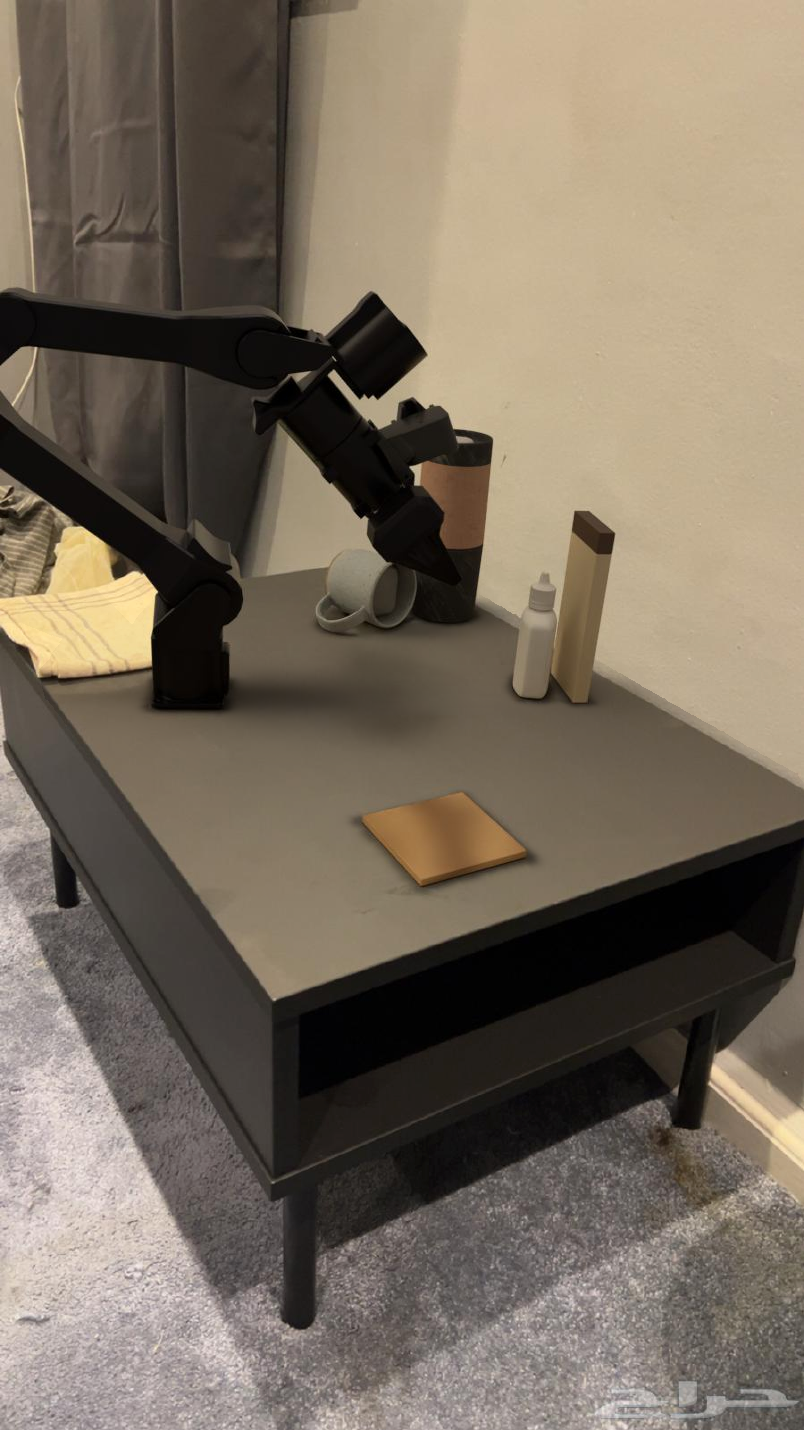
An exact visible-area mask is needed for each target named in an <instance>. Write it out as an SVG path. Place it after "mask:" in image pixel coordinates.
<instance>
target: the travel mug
mask: <svg viewBox="0 0 804 1430" xmlns="http://www.w3.org/2000/svg"><path fill="white" fill-rule="evenodd" d="M453 429H454V432H455V436H456V439H457V442H458V445H459V449H458V450H457V451H456V452H454V453H452V454H449V455H441V456H438V457H436V458H433V459H431V460H428V461H426V462H423V463H421V464H420V465H421V466H420V479H419V486H423V487H424V488H425V489H426V490H427V491H428V492H429V494H430V495H431V496H432V497H433V499H434V500H435V501H436V502H437V503H438V505H439V506H440V507H441V509H442V510H443V511H444V513H445V514H444V522H443V524H442V525H441V530H440V537H441V539H442V541H443V543H444V545H445V547H446V549H447V550H448V552H449V554H450V556H451V558H452V560H453V561H454V563H455V565H456V567H457V569H458V571H459V572H460V574H461V576H462V578H463V579H462V581H461V582H460V583H459V584H458V585H456V586H455V587H452V586H450V585H448V584H445V583H443V582H441V581H438V580H436V579H434V578H431V577H429V576H427V575H424V574H422V573H419V572H417V571H415V570H414V571H415V574H416V580H417V589H416V595H415V600H414V603H413V605H412V611H413V614H415V615H416V616H418V617H419V618H422V619H424V620H427V621H430V622H431V621H432V622H437V623H449V624H451V623H461V622H466V621H468V620H470V619H472V617H474V614H475V608H476V602H477V594H478V585H479V580H480V573H481V572H480V571H481V565H482V558H483V552H484V551H483V550H484V543H485V532H486V523H487V513H488V512H487V511H488V500H489V492H490V491H489V490H490V480H491V479H490V478H491V469H492V461H493V460H492V459H493V450H494V449H493V448H494V438H493V436H491V435H489V434H487V433H484V432H480V431H476V430H471V429H470V430H469V429H461V428H460V429H459V428H453Z"/></svg>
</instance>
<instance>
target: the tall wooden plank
mask: <svg viewBox="0 0 804 1430" xmlns="http://www.w3.org/2000/svg"><path fill="white" fill-rule="evenodd" d="M572 518H573V519H572V524H571V525H572V526H571V531H570V532H571V533H570V538H569V546H568V552H567V559H566V565H565V572H564V580H563V587H562V593H561V600H560V606H559V615H558V619H557V627H556V634H555V641H554V648H553V655H552V661H551V668H550V674H551V675H552V676H553V678H554V679H555V680H556V682H557V683H558V684H559V686H560V688H562V690H563V691H564V692H565V694H566V695H567V698H568V699H570V701H571V703H573V704H575V703H578V704H579V703H580V704H581V703H588V699H589V695H590V688H591V683H592V677H593V670H594V665H595V664H594V663H595V657H596V652H597V645H598V641H599V634H600V628H601V623H602V618H603V617H602V615H603V611H604V604H605V598H606V593H607V592H606V591H607V586H608V580H609V574H610V568H611V563H612V555H613V551H614V550H613V549H614V545H615V538H616V532H615V531H614V530H612V528H610V527H609V526H608V525H606V524H605V522H603V521H602V520H601V519H599V518H598V517H597V516H596V515H595V514H593V512H591V511H590V510H574V511H573V517H572Z"/></svg>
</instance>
